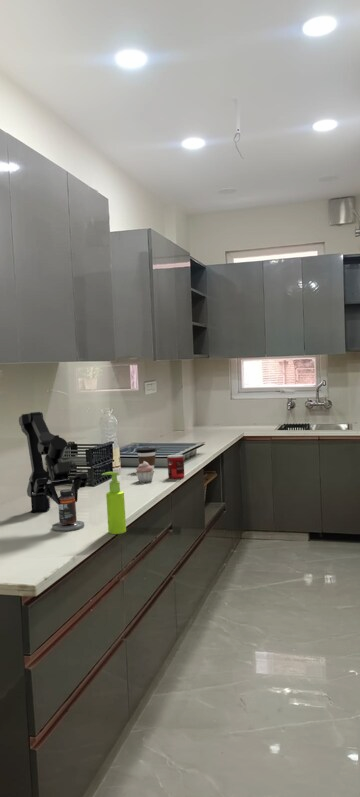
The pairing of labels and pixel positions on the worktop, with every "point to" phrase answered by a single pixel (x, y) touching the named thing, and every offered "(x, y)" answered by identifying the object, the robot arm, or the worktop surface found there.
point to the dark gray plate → (68, 526)
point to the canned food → (175, 466)
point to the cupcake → (144, 472)
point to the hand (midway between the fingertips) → (68, 502)
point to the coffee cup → (147, 456)
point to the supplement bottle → (67, 507)
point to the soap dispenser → (115, 506)
